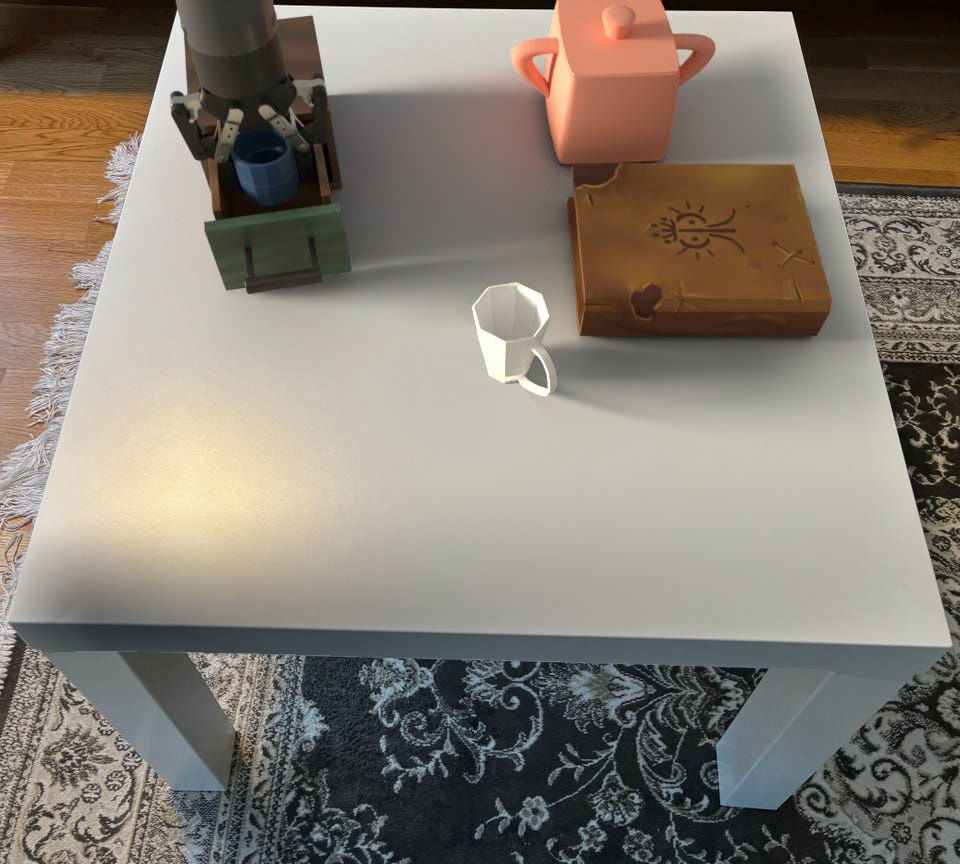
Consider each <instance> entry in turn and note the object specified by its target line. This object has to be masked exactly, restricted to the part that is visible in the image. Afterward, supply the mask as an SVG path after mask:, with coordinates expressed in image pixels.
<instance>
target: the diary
mask: <svg viewBox="0 0 960 864" xmlns="http://www.w3.org/2000/svg"><path fill="white" fill-rule="evenodd" d="M571 177H572V186H573V187H572V188H573V189H572V190H573V196H568V197H567V201H566V205H567V217H568V218H567V219H568V228H569V241H570V252H571V263H572V276H573V285H574V297H575V298H574V299H575V311H576V320H577V332H578V336H579V337H818V335H819V333H820V331H821V329H822V328H823V326H824V324H825V322H826V320H827V318H828V317H829V316H830V314H831V310H832V300H833V297H832V294H831V291H830V286H829V283H828V280H827V277H826V272H825V269H824V265H823V262H822V258H821V255H820V251H819V247H818V244H817V241H816V237H815V233H814V229H813V226H812V222H811V219H810V216H809V212H808V208H807V205H806V201H805V198H804V194H803V190H802V188H801V184H800V180H799V176H798V172H797V169H796V166H795V164H793V163H791V164H790V163H789V164H788V163H787V164H785V163H783V164H782V163H778V164H777V163H772V164H771V163H639V162H622V163H573V164H571Z"/></svg>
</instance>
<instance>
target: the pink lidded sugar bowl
mask: <svg viewBox="0 0 960 864" xmlns="http://www.w3.org/2000/svg"><path fill="white" fill-rule="evenodd" d="M551 21H552V22H551V25H550V30H549V35H548V37H539V38H531V39H527V40H523V41H521V42H518V43H517V44H516V45H514V46H513V47H512V49H511V51H510V52H511V53H510V59H511V63H512V65H513V67H514V69H515V70H516V72H517V73H518V74H519V75H520V77H521V78H522V79H523V80H524V81H526V83H528V84H529V85H530V86H531V87H533V88H534V89H535V90H537V91H538V92H539V93H540V94H541V95H543V96H544V97H545V98H544V99H545V107H546V116H547V122H548V128H549V133H550V137H551V141H552V145H553V149H554V152H555V156H556V158H557V160H558V162H559V163H560V164H562V165H572V164H573V163H641V162H655V161H661V160H663V158H664V156H665V154H666V153H667V150H668V147H669V144H670V142H671V139H672V134H673V128H674V123H675V118H676V111H677V104H678V93H679V88H680V87H681V86H683V85H684V84H686V83H687V82H689V81H690V80H691V79H692V78H694V77H695V76H696V75H698V74H699V73H700V72H701V71H702V70H703V69H705V68H706V66H707V65H708V64H709V63H710V62H711V61H712V59H713V57H714V55H715V54H716V49H717V47H716V42H715V41H714V40H713V39H712V38H711V37H709V36H707V35H704V34H699V33H687V32H685V33H684V32H683V33H680V32H679V33H673V30H672V28H671V24H670V21H669V18H668V16H667V13H666V10H665V7H664V5H663V2H662V0H556V2H555V6H554V10H553V15H552V20H551ZM677 50H687V51H692V52H691V54H690V55H689V56H688V57H687V59H686V60H685V61H684V62H683V63H682V64H681V65H680V60H679V54H678V51H677ZM541 55H542V56H543V55H545V63H544V76H543V75H542V73H541V72H540V71H539V70H538V69H539V68H537V66H536V64H535V63H534V60H533V59H534V58H535V57H537V56H541Z"/></svg>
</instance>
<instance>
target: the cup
mask: <svg viewBox="0 0 960 864" xmlns="http://www.w3.org/2000/svg"><path fill="white" fill-rule="evenodd" d="M471 309H472V314H473V317H474V322H475V327H476V331H477V337H478V341H479V345H480V348H481V351H482V355H483V358H484V361H485V365H486V368H487V372H488V375H489V377H491V378H493V379H495V380H496V381H499V382H500V383H503V384H510V383H515V382H518V383H519V384H520V386H522V387H523V388H524V389H526V390H527V391H529V392H531V393H534V394H536V395H539V396H541V397H542V396H543V397H547V396H549V395H551V394H552V393H553V392H554V391H555V390H556V389H557V385H558V384H557V381H558V379H557V371H556V368H555V366H554V363H553V362H554V361H553V359H552V357H551V356H550V354H549V353H548V351H546V349H545V348H544V347H543V346H542V342H543V340H544V337H545V334H546V332H547V329H548V326H549V324H550V321H551V318H552V316H551V313H550V310H549V308H548V305H547V302H546V299H545V297H544V294H543V293H541V292H539V291H537V290H535V289H533V288H530V287H528V286H527V285H524V284H522V283H520V282H519V281H515V282H509V283H503V284H497V285H492V286H487V288H485V290H484V291H483V292H482V294H481V295H480V296H479V297H478V298H477V300H476V301H475V303H473V305H472V306H471ZM536 356H537V358H539V360H540V361H541V363H542V365H543V368H544V371H545V373H546V378H547V388H546V387H543V386H540V385H537V384H536V383H534V382H533V381H531V380H529V379H528V377H526V376H527V374H528V373H529V371H530V370H531V368H532V362H533V361H534V359H535V358H536Z"/></svg>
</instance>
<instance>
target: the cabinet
mask: <svg viewBox="0 0 960 864" xmlns="http://www.w3.org/2000/svg"><path fill="white" fill-rule="evenodd" d="M277 23H278V28H279V33H280V38H281V43H282V48H283V53H284V58H285V62H286V67H287V70H288V72H289V73H290V75H291V76H292V77H293V78H294V80H311V76H312V75H313V74H315V73H320V74H322V75H323V77H324V78H325V75H324V70H323V64H322V59H321V52H320V48H319V42H318V36H317V31H316V24H315V20H314V16H313V15H311V14H310V15H304V16H295V17H294V16H293V17H287V18H277ZM183 43H184V61H185V77H186V78H185V79H186V93H187V94H186V95H189V94H193V93H197V92H199V87H200V82H199V78H198V75H197V72H196V69H195V65H194V62H193V59H192V55H191V52H190V49H189V46H188V42H187V39H186V36H185V35H184V34H183ZM324 81H325V79H324ZM325 82H326V81H325ZM325 86H326V84H325ZM326 87H327V86H326ZM326 92H327V90H326ZM327 93H328V92H327ZM290 107H291V109H292V110H293V112H294V114H295V116H296V117H297V118H298V120H299V121H306V120H311V108H310V107H309V106H308V105H306V104H305V103H304V100H303V98H302V97H301V96H299V95H296V98H295V99H294V101H293V103H292V104H291V106H290ZM330 107H331V106H330V101H329V97H328V95H327V142H326V143H325V144H322V147H323V153H324V159H325V164H326V170H327V175H328V181H329V187H330V191H331V190H337V189H343V187H344V186H343V180H342V175H341V169H340V161H339V156H338V151H337V150H338V149H337V144H336V138H335V131H334V126H333V120H332V113H331V109H330ZM217 121H218V119H216V118H215V117H214V116H212V115H211V114H210V113H208V112H207V111H205V110H204V109H203V108H200V109H199V110H198V119H197V122H198V124H199V126H200V128H201V130H202V132H203V134H204V136H205V137H206V138H207V133H214V132H215V131H216V128H217ZM199 162H200V165H201V167H202V171H203V174H204V177H205V180H206V182H207V186H208V188H209V192H210V193H211V185H210V171H209V158H206V159H205V160H203V161H199Z"/></svg>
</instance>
